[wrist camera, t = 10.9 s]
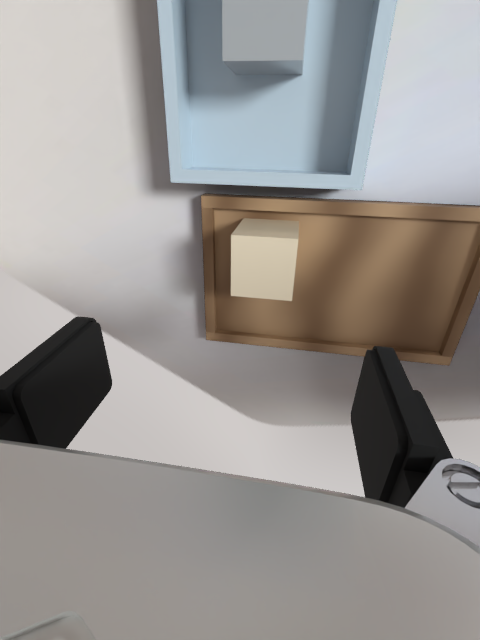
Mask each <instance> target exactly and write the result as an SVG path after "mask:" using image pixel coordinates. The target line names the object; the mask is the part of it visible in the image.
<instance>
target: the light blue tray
mask: <svg viewBox="0 0 480 640" xmlns="http://www.w3.org/2000/svg"><path fill="white" fill-rule="evenodd" d="M396 4H397V0H309V8H308V19H307V30H306V41H305V52H304V63H303V75H236V74H235V73H234V72H233V71H232V70H231V69H230V68H229V67H228V66H227V65H226V64H225V63H224V62H223V61H222V0H157V8H158V21H159V34H160V48H161V61H162V74H163V87H164V100H165V113H166V126H167V140H168V153H169V166H170V179H171V182H172V183H197V184H222V185H246V186H271V187H296V188H320V189H345V190H362V187H363V182H364V177H365V171H366V166H367V160H368V155H369V150H370V144H371V139H372V133H373V128H374V123H375V117H376V112H377V107H378V101H379V96H380V90H381V85H382V80H383V74H384V69H385V63H386V58H387V53H388V47H389V42H390V36H391V31H392V26H393V20H394V15H395V9H396Z"/></svg>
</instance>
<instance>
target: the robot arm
mask: <svg viewBox="0 0 480 640" xmlns="http://www.w3.org/2000/svg"><path fill="white" fill-rule="evenodd" d="M111 386H112V379H111V374H110V369H109V365H108V360H107V355H106V350H105V346H104V341H103V336H102V331H101V327H100V324H99V323H97V322H96V320H95V319H93V318H87V317H75V318H74V319H73V320H71V321H70V322H69V323H68V324H66V325H65V326H64V327H62V328H61V329H60V330H59V331H57V332H56V333H55V334H53V335H52V336H51V337H50V338H48V339H47V340H46V341H45V342H43V343H42V344H41V345H39V346H38V347H37V348H36V349H34V350H33V351H32V352H31V353H29V354H28V355H27V356H25V357H24V358H23V359H22V360H20V361H19V362H18V363H17V364H15V365H14V366H13V367H12V368H10V369H9V370H8V371H6V372H5V373H4V374H2V375H1V376H0V640H480V467H478V466H476V465H474V464H472V463H470V462H467V461H464V460H461V459H453V457H452V455H451V453H450V451H449V449H448V447H447V445H446V443H445V441H444V438H443V436H442V434H441V432H440V430H439V428H438V426H437V424H436V422H435V420H434V418H433V416H432V414H431V412H430V410H429V408H428V406H427V404H426V402H425V400H424V398H423V396H422V394H421V393H420V392H419V391H417V390H413V389H412V387H411V385H410V382H409V380H408V378H407V376H406V374H405V372H404V369H403V367H402V365H401V363H400V361H399V359H398V356H397V354H396V352H395V350H394V348H392V347H382V346H374V347H373V349H372V350H367V351H366V354H365V358H364V362H363V366H362V370H361V374H360V378H359V382H358V386H357V390H356V394H355V398H354V402H353V406H352V411H351V424H352V429H353V434H354V439H355V445H356V450H357V455H358V461H359V466H360V471H361V476H362V482H363V487H364V492H365V498H364V497H360V496H355V495H351V494H346V493H340V492H335V491H329V490H323V489H317V488H312V487H306V486H301V485H295V484H289V483H283V482H277V481H271V480H264V479H258V478H251V477H245V476H239V475H233V474H226V473H221V472H214V471H207V470H202V469H195V468H189V467H182V466H176V465H169V464H162V463H157V462H149V461H143V460H137V459H130V458H124V457H117V456H111V455H104V454H97V453H90V452H84V451H77V450H70V449H66V448H67V446H68V445H69V444H70V442H71V441H72V440H73V438H74V437H75V435H77V433H78V432H79V431H80V429H81V428H82V427H83V425H84V424H85V423H86V421H87V420H88V419H89V417H90V416H91V415H92V413H93V412H94V411H95V410H96V408H97V407H98V406H99V404H100V403H101V401H102V400H103V399H104V398H105V396H106V395H107V394H108V392H109V391H110V389H111Z"/></svg>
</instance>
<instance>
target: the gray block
mask: <svg viewBox="0 0 480 640" xmlns="http://www.w3.org/2000/svg"><path fill="white" fill-rule="evenodd" d="M308 8H309V0H222V61H223V62H224V63H225V64H226V65H227V66H228V67H229V68H230V69H231V70H232V71H233V72H234V73H235V74H236V75H303V63H304V52H305V41H306V30H307V19H308Z"/></svg>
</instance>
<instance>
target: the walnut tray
mask: <svg viewBox="0 0 480 640" xmlns="http://www.w3.org/2000/svg"><path fill="white" fill-rule="evenodd" d="M201 207H202V235H203V264H204V292H205V320H206V340H212V341H222V342H231V343H241V344H250V345H260V346H269V347H279V348H288V349H297V350H307V351H316V352H326V353H335V354H345V355H354V356H364V357H365V354H366V351H367V350H372V349H373V347H374V346H382V347H392V348H394V350H395V352H396V354H397V356H398V359H399V360H401V361H411V362H420V363H430V364H439V365H450V362H451V360H452V357H453V355H454V353H455V350H456V348H457V345H458V343H459V340H460V338H461V335H462V333H463V330H464V328H465V325H466V323H467V320H468V318H469V315H470V313H471V310H472V308H473V305H474V303H475V300H476V298H477V295H478V293H479V290H480V206H475V205H453V204H431V203H408V202H386V201H363V200H341V199H318V198H296V197H273V196H251V195H229V194H206V193H205V194H203V195H202V196H201ZM244 218H251V219H269V220H288V221H299V238H298V248H297V258H296V267H295V277H294V286H293V296H292V301H285V300H273V299H262V298H250V297H239V296H231V234H232V233H233V232H234V230H235V229H236V228H237V226H238V225H239V224H240V223H241V221H242V220H243V219H244Z"/></svg>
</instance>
